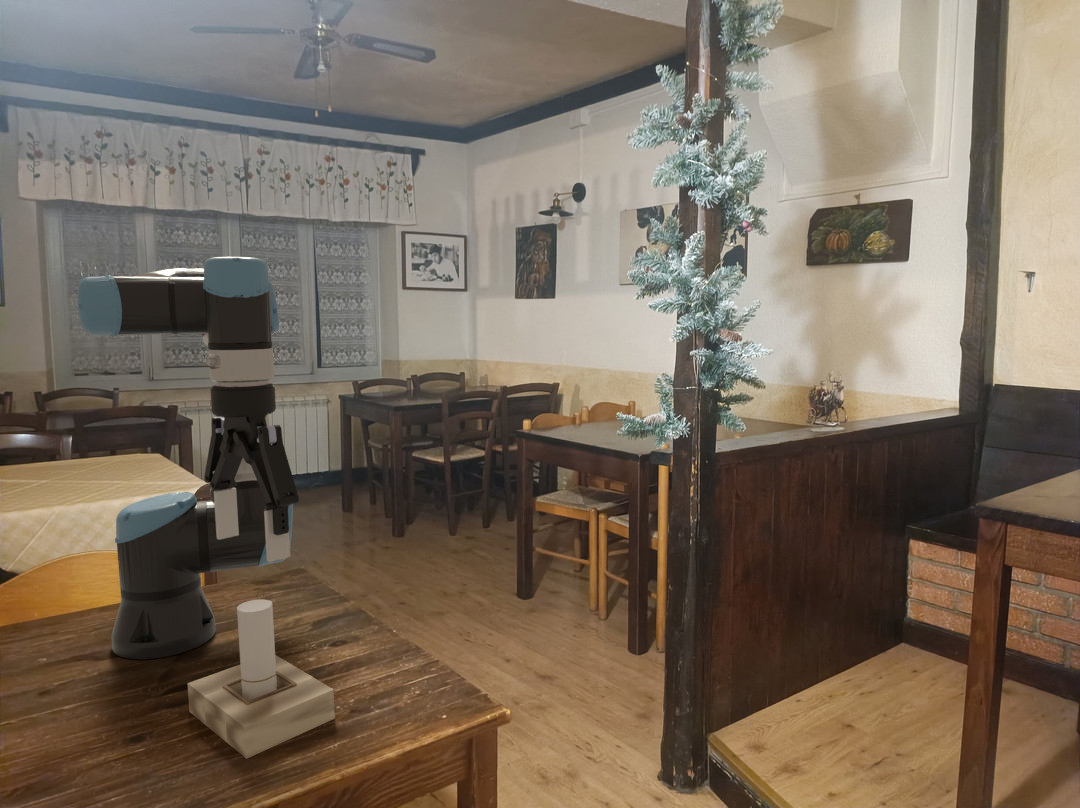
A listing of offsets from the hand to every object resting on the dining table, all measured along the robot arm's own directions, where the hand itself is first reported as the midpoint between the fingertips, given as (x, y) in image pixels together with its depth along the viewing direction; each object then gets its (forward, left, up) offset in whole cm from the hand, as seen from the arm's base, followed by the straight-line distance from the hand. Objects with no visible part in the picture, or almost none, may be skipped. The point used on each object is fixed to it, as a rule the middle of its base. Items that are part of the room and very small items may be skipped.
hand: (252, 547), depth 97 cm
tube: (0, 0, -23) cm, 23 cm away
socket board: (0, 0, -23) cm, 23 cm away
